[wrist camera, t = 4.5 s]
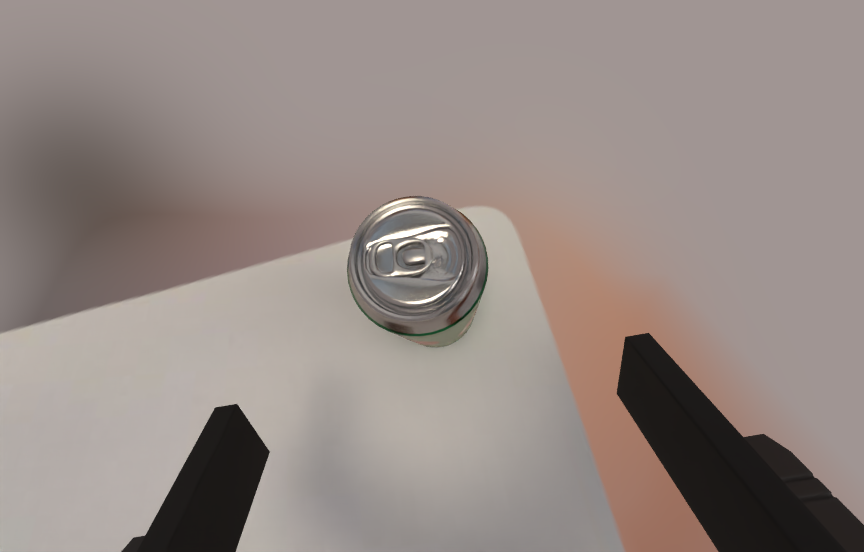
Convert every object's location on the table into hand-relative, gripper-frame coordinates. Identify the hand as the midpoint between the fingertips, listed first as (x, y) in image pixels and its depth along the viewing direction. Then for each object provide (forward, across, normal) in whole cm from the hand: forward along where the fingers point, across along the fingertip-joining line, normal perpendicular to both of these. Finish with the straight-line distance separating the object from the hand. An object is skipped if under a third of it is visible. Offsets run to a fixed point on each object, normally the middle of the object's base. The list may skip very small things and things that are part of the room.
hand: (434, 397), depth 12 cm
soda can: (+11, 0, -4) cm, 11 cm away
